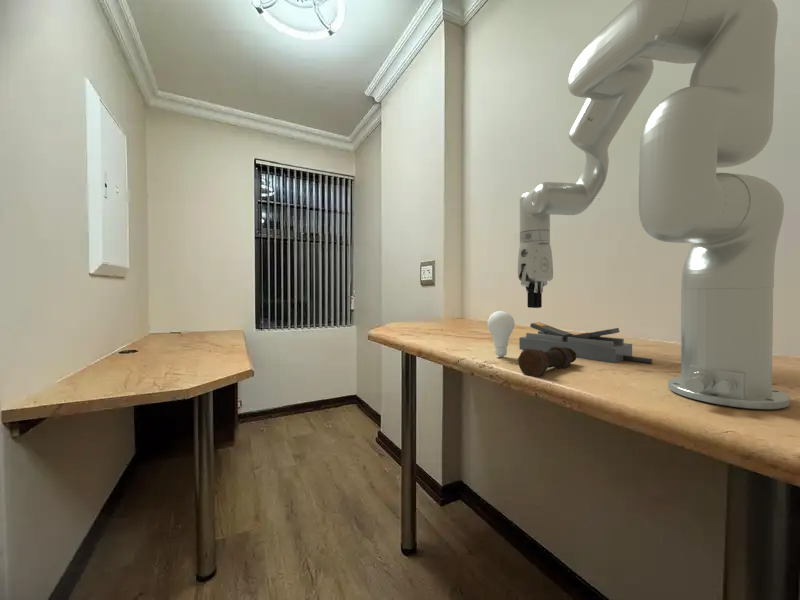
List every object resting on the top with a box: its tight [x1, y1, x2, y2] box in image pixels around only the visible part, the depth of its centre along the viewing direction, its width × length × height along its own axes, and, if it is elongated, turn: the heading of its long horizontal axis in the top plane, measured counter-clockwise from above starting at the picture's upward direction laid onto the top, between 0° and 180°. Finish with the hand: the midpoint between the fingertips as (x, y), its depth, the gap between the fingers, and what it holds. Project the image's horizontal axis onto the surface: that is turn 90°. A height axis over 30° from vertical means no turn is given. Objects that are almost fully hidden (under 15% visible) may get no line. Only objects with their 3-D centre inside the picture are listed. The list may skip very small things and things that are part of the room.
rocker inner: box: [571, 327, 620, 338], centre depth 78 cm, size 4×9×1 cm, turn 36°
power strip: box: [518, 330, 653, 364], centre depth 80 cm, size 9×28×4 cm, turn 36°
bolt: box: [517, 346, 577, 378], centre depth 66 cm, size 6×5×15 cm
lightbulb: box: [486, 310, 516, 358], centre depth 79 cm, size 6×6×11 cm
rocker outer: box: [529, 321, 572, 339], centre depth 87 cm, size 4×9×1 cm, turn 36°
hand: (534, 307), depth 90 cm, fingers closed
